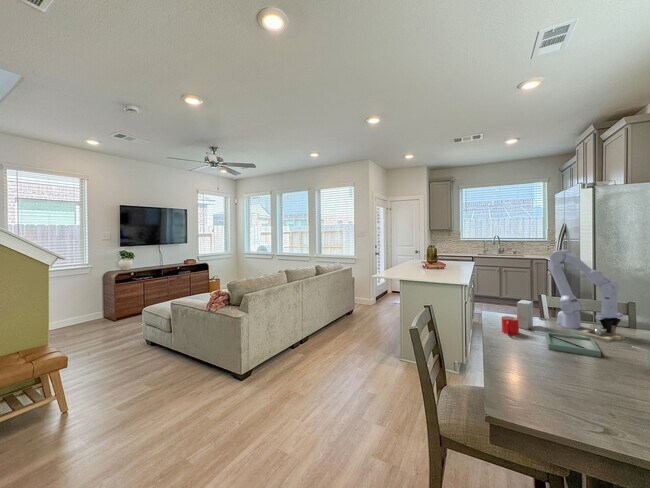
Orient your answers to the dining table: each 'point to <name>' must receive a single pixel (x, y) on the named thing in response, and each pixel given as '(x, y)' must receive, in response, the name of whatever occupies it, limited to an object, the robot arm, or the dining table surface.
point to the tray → (571, 345)
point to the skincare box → (525, 313)
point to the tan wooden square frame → (611, 335)
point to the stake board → (603, 336)
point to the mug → (510, 325)
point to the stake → (598, 330)
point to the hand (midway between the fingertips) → (609, 332)
